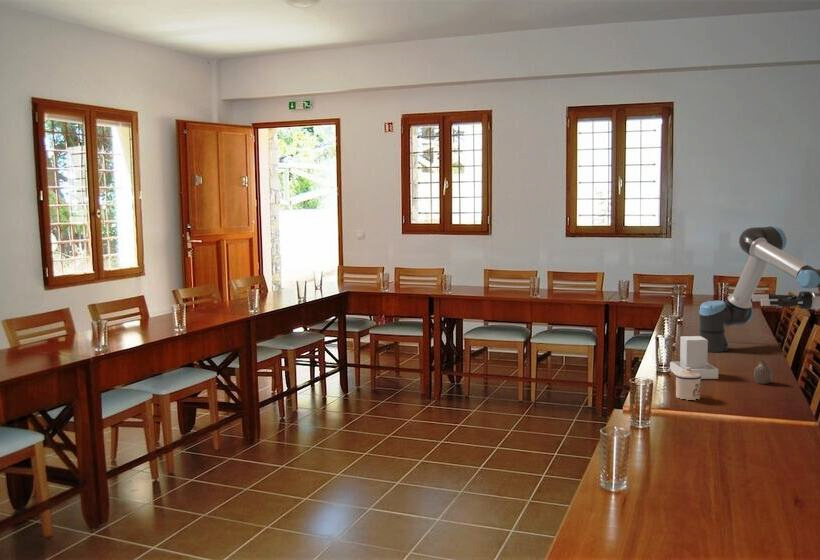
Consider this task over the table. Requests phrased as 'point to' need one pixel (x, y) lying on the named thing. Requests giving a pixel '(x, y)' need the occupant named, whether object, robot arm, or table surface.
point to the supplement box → (693, 352)
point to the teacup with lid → (688, 384)
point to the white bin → (697, 370)
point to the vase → (763, 373)
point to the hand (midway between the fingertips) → (756, 300)
